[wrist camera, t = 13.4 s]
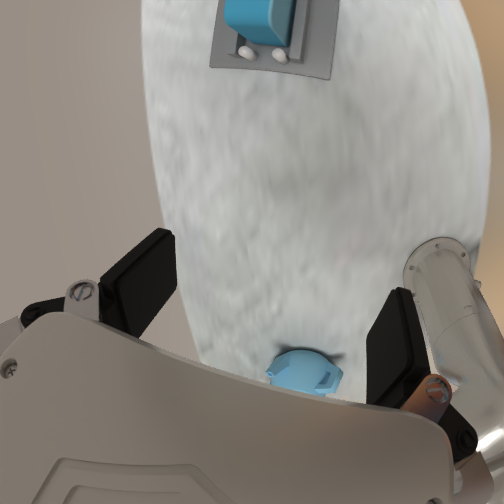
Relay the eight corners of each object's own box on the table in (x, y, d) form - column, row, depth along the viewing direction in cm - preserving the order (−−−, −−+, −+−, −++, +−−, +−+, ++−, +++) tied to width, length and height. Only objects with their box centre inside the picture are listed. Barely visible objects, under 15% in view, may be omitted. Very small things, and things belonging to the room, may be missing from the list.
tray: (341, -31, 18) (341, -47, 14) (329, 80, 28) (329, 75, 24) (228, -36, 21) (215, -49, 17) (212, 67, 31) (196, 63, 27)
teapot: (327, 388, 59) (322, 425, 50) (268, 377, 62) (257, 413, 53) (346, 351, 51) (343, 395, 42) (275, 338, 54) (262, 380, 45)
